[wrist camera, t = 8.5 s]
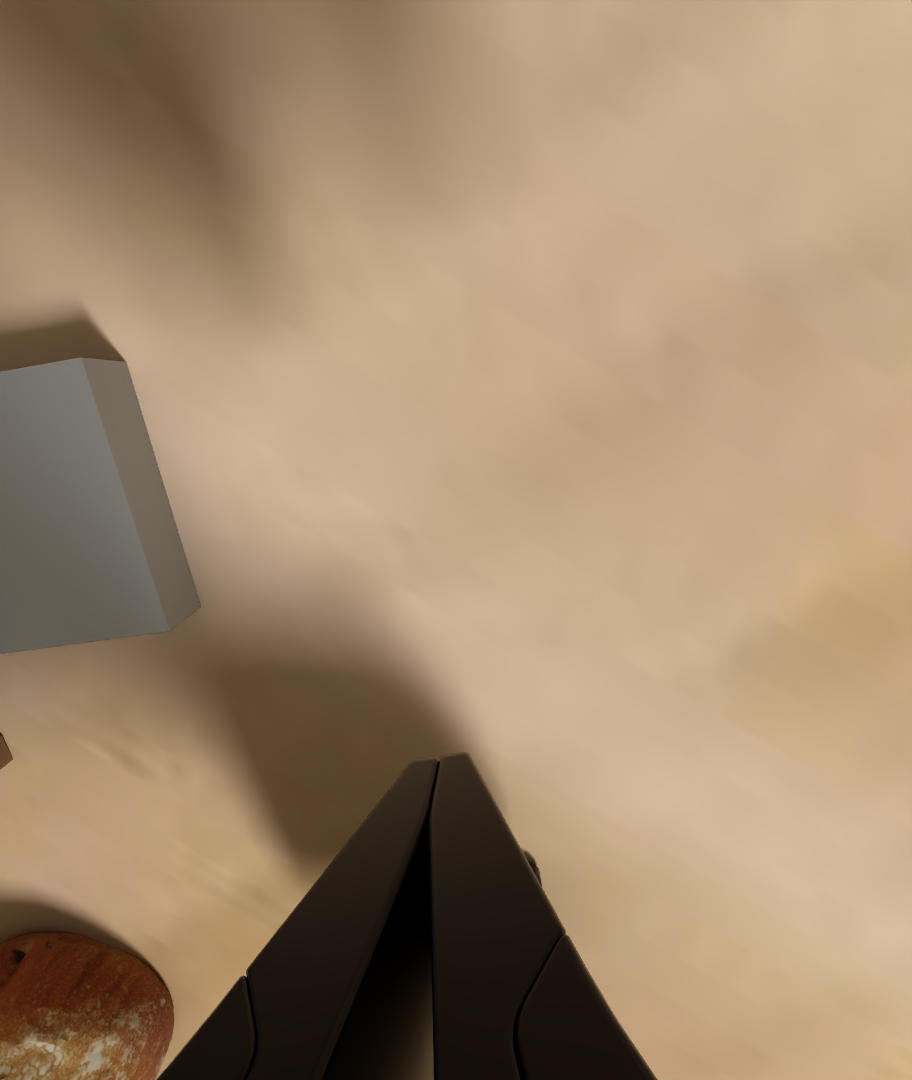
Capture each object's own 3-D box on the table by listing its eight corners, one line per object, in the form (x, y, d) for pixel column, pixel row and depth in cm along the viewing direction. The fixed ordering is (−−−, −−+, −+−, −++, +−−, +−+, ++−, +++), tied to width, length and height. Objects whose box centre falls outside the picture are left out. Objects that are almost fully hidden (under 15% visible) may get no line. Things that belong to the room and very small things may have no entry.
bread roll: (125, 1003, 31) (88, 1211, 25) (-95, 1008, 25) (-216, 1279, 19) (218, 909, 29) (204, 1111, 23) (0, 891, 23) (-101, 1155, 17)
